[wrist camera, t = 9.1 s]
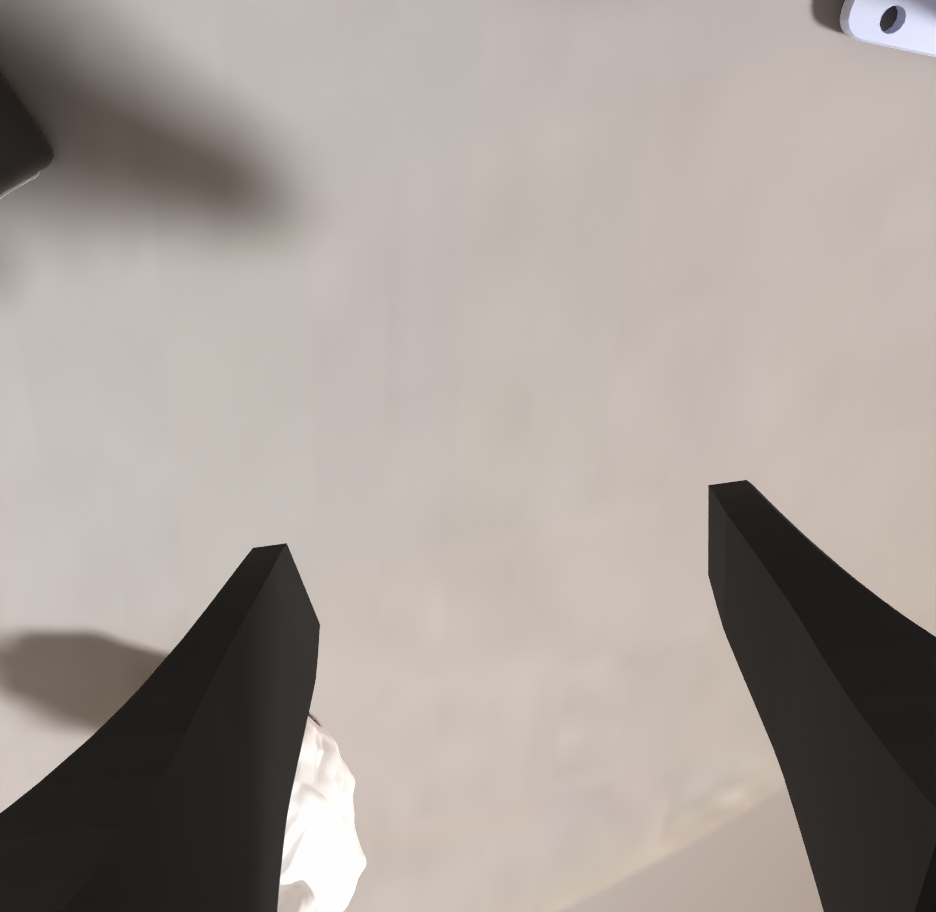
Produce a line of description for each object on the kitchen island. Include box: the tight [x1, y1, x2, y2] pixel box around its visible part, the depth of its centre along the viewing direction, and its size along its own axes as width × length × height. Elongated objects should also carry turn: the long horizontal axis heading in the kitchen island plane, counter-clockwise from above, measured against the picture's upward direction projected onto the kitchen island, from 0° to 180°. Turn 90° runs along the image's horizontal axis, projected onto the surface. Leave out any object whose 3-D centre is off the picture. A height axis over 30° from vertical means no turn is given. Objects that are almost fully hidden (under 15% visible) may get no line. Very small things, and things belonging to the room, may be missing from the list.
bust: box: [277, 716, 366, 912], centre depth 28 cm, size 12×8×11 cm
